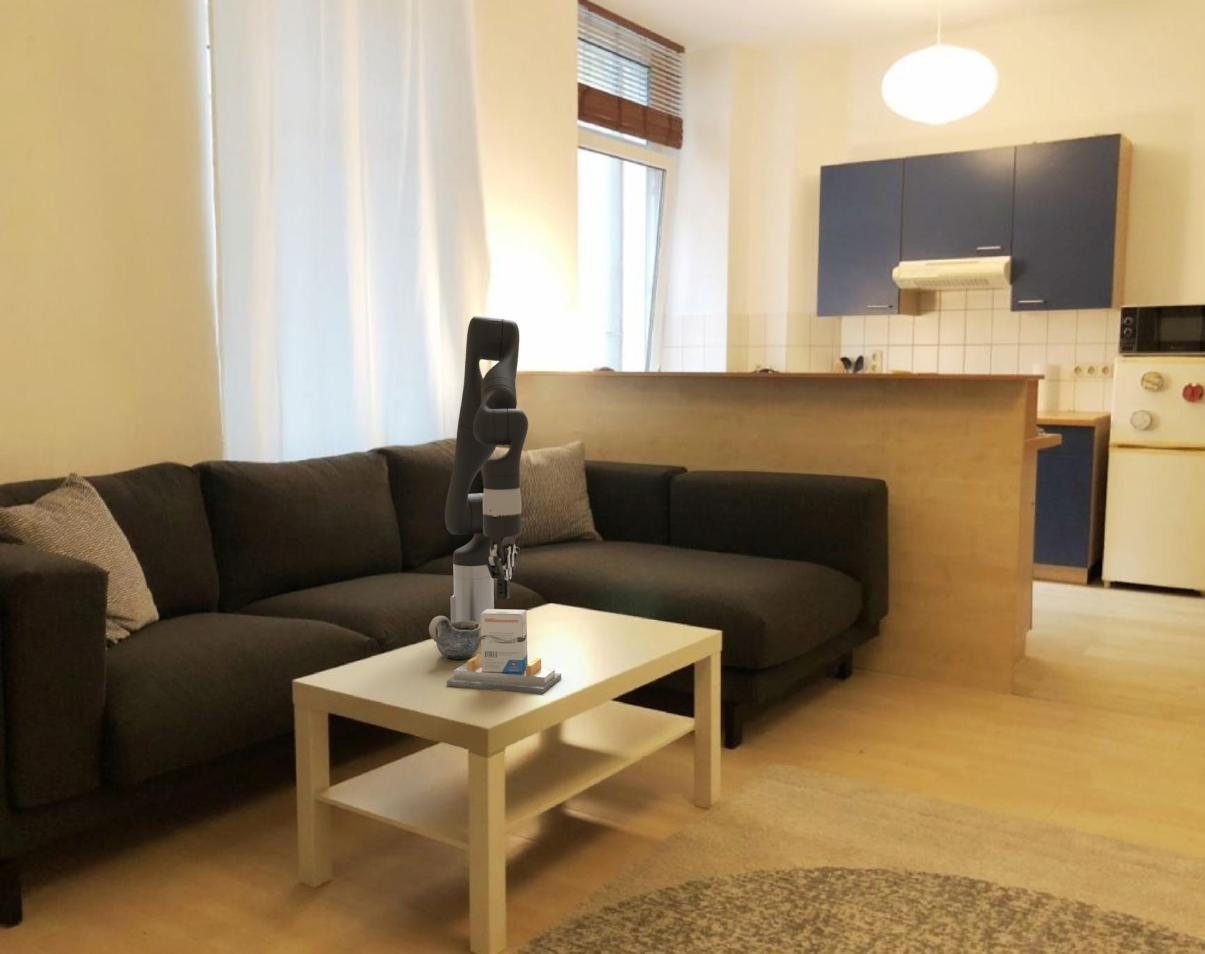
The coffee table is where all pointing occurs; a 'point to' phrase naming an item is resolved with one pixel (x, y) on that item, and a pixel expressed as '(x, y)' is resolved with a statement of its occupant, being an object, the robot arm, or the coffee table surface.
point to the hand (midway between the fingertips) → (503, 598)
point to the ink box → (503, 640)
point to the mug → (455, 637)
